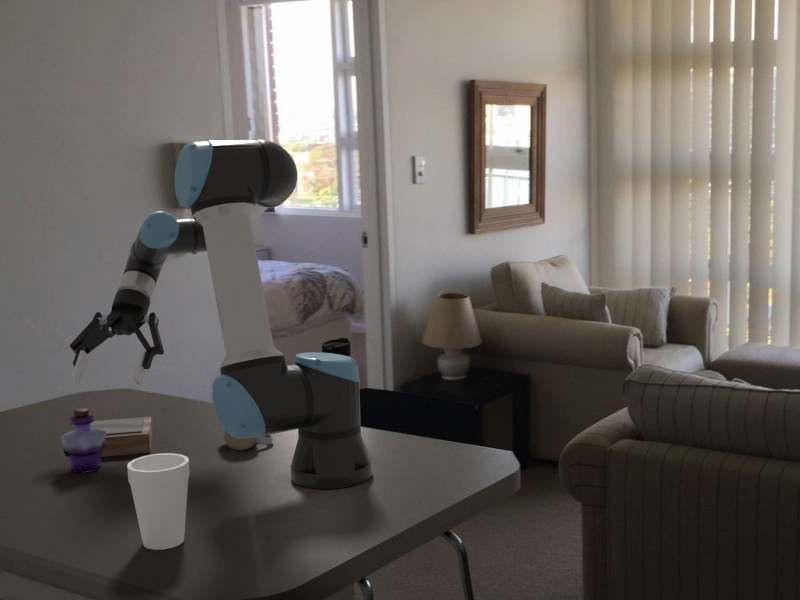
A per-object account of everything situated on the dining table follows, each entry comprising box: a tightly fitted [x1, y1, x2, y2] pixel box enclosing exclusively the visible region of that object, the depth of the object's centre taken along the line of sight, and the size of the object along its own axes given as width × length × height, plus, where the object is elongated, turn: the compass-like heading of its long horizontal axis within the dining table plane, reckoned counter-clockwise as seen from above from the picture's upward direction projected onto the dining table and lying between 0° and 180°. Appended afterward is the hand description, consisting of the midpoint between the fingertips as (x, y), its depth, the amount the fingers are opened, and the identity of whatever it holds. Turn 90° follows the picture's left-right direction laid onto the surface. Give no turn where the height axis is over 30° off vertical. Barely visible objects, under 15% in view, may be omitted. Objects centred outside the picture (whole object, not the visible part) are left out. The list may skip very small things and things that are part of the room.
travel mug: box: [321, 337, 352, 358], centre depth 215 cm, size 6×7×20 cm
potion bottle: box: [60, 407, 106, 474], centre depth 195 cm, size 9×9×12 cm
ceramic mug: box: [218, 419, 274, 452], centre depth 207 cm, size 11×8×8 cm
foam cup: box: [127, 452, 191, 551], centre depth 156 cm, size 10×9×13 cm
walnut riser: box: [90, 416, 154, 458], centre depth 210 cm, size 14×14×4 cm
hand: (106, 381), depth 204 cm, fingers open, 13 cm apart
